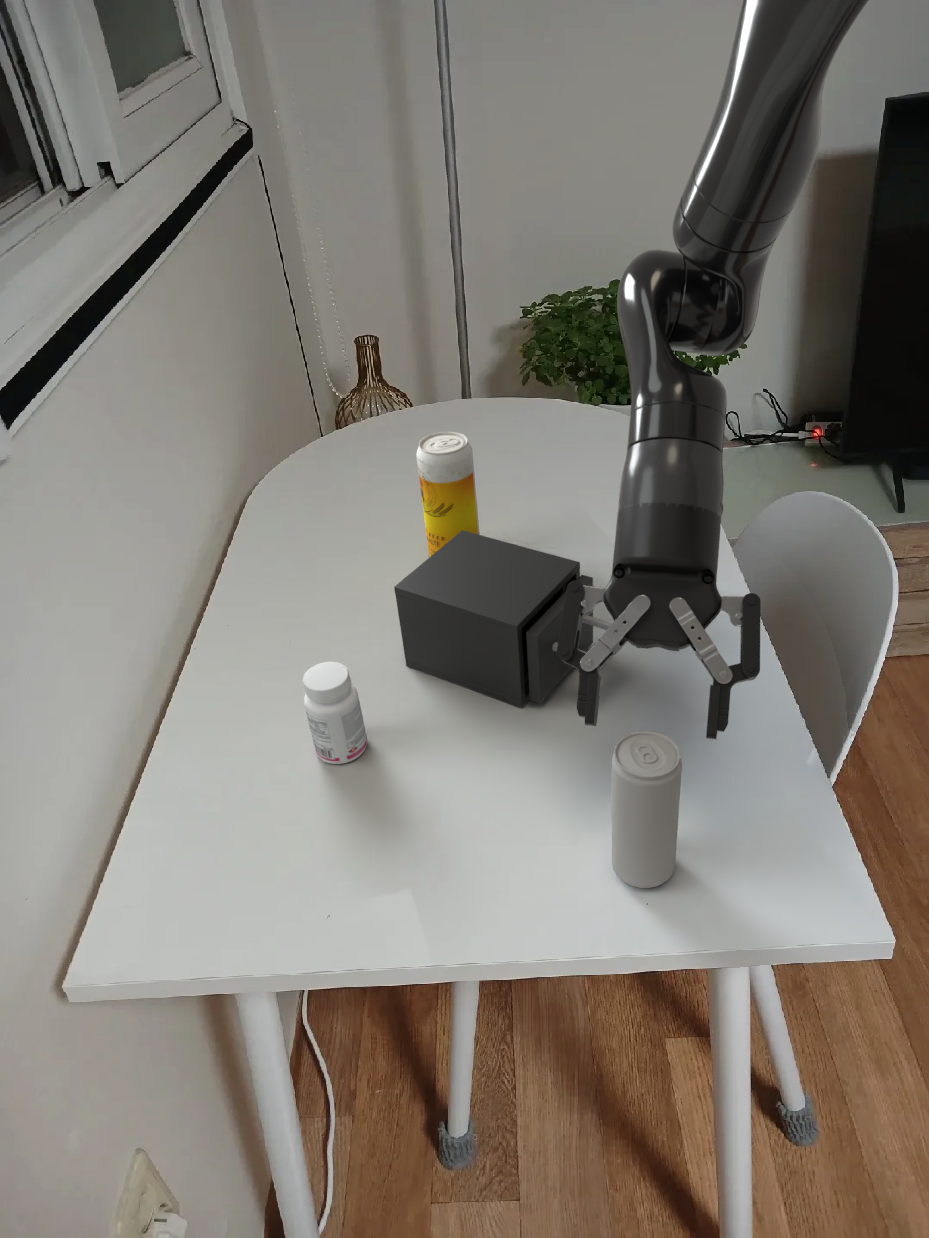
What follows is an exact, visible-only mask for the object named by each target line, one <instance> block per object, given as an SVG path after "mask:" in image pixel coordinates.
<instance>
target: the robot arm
mask: <svg viewBox="0 0 929 1238" xmlns="http://www.w3.org/2000/svg"><path fill="white" fill-rule="evenodd" d="M869 1H870V0H742V2H741V3H742V4H741V8H740V11H739V17H738V21H737V26H736V29H735V30H736V31H735V34H734V40H733V44H732V48H731V53H730V57H729V61H728V66H727V69H726V73H725V77H724V82H723V85H722V88H721V92H720V96H719V99H718V101H717V104H716V108H715V110H714V114H713V117H712V120H711V122H710V125H709V127H708V130H707V132H706V134H705V135H706V136H705V138H704V140H703V143H702V145H701V148H700V150H699V152H698V155H697V157H696V160H695V163H694V165H693V168H692V170H691V173H690V175H689V178H688V180H687V182H686V185H685V187H684V189H683V192H682V195H681V197H680V199H679V202H678V204H677V207H676V210H675V213H674V217H673V221H672V239H673V242H674V244H675V247H676V249H677V250H678V251H672V250H665V249H650V250H646V251H643V252H641V253H640V254H638V255H636V257H634V259H632V260H631V261H630V262H629V264H628V265H627V266H626V268H625V270H624V271H623V274H622V276H621V278H620V280H619V284H618V289H617V296H616V310H617V319H618V326H619V331H620V337H621V340H622V346H623V350H624V354H625V359H626V364H627V371H628V378H629V389H630V411H629V412H630V413H629V422H628V423H629V424H628V433H627V443H626V444H627V445H626V453H625V460H624V465H623V468H622V472H621V476H620V477H621V478H620V483H619V484H620V485H619V494H618V504H617V505H618V508H617V514H616V517H617V518H616V526H615V536H614V537H615V538H614V546H613V558H612V567H611V568H612V569H611V576H610V580H609V581H608V583H607V584H606V586H605V587H601V586H600V587H599V586H593V587H592V586H584V585H582V584H581V582H579V581H571V582H570V583H569V584H568V586H567V590H566V597H565V603H564V609H563V615H562V621H561V627H560V633H559V640H558V646H557V656H558V658H559V659H561V660H562V661H563V662H564V663H566V664H569V665H571V666H573V667H572V668H575V669H577V671H578V673H579V680H578V688H577V689H578V690H577V698H576V699H577V701H576V710H577V711H576V712H577V714H578V717H580V718H584V725H585V726H588V727H597V723H598V714H599V706H600V705H599V704H600V695H601V694H600V693H601V683H602V676H601V675H600V674H599V673H600V671H601V670H602V668H603V667H604V666H605V665H606V664H607V663H608V662H609V661H610V660H611V659H612V658H613V657H614V656H615V655H616V654H617V653H618V652H619V651H620V650H621V649H622V648H623V647H624V646H625V645H626V644H627V643H629V644H630V645H632V646H634V647H635V648H636V649H646V650H647V649H654V648H660V649H664V650H667V651H671V652H681V651H682V650H685V649H687V648H689V647H690V648H691V649H692V651H693V653H694V654H695V656H696V657H697V659H698V660H699V662H700V663H701V664H702V666H703V667H704V668H705V670H706V672H707V673H708V674H709V676H710V677H711V680H712V684H710V685H709V696H708V708H707V718H706V719H707V721H706V735H705V739H707V740H708V739H709V740H717V738H718V737H717V736H718V732H720V733H724V732H725V731H726V729H727V727H728V725H729V715H730V704H731V703H730V701H731V690H732V688H733V686H735V685H737V684H740V683H744V682H747V681H754V680H755V679H756V678H757V677H758V675H759V674H760V671H761V597H760V596H759V595H758V594H757V593H754V592H750V593H749V592H748V593H746V594H745V595H743V596H741V595H740V596H735V595H734V596H733V595H732V596H731V595H728V596H727V595H724V596H723V595H722V596H721V594H720V592H719V590H718V587H717V586H718V585H717V577H718V566H719V565H718V564H719V551H720V539H721V525H722V516H723V514H724V513H723V512H724V503H723V500H724V485H725V484H724V483H725V482H724V481H725V480H724V467H723V457H724V455H723V454H724V443H725V429H726V419H727V407H728V406H727V404H728V399H727V390H726V388H725V386H724V384H723V382H722V381H721V380H720V379H718V378H717V377H716V376H714V375H712V374H710V373H708V372H707V371H704V370H701V369H699V368H697V367H694V366H692V365H690V364H688V363H686V362H684V361H683V360H682V359H680V358H679V357H677V355H676V354H675V352H683V353H688V354H696V355H702V356H709V357H720V356H725V355H728V354H731V353H733V352H735V351H736V350H738V349H739V348H741V347H742V346H743V345H744V344H745V343H746V342H747V341H748V340H749V338H750V337H751V335H752V333H753V330H754V328H755V326H756V321H757V318H758V317H757V316H758V312H759V305H760V298H761V290H762V285H763V284H762V282H763V279H764V274H765V271H766V267H767V264H768V261H769V257H770V255H771V251H772V249H773V246H774V244H775V242H776V240H777V238H778V237H779V234H780V232H781V231H782V230H783V227H784V226H785V224H786V222H787V220H788V218H789V217H790V215H791V213H792V211H793V209H794V207H795V206H796V204H797V202H798V200H799V198H800V197H801V195H802V193H803V190H804V188H805V186H806V184H807V182H808V180H809V178H810V176H811V173H812V171H813V168H814V166H815V162H816V159H817V155H818V151H819V147H820V140H821V131H822V103H823V102H822V100H823V90H824V86H825V82H826V78H827V76H828V73H829V70H830V67H831V65H832V62H833V60H834V58H835V56H836V54H837V52H838V50H839V48H840V46H841V44H842V43H843V41H844V39H845V37H846V36H847V34H848V32H849V31H850V30H851V28H852V26H853V25H854V23H855V22H856V21H857V19H858V17H859V16H860V14H861V13H862V11H863V10H864V8H865V7H866V6H867V4H868V2H869ZM674 351H675V352H674ZM600 603H603V604H604V606H605V608H606V609H607V611H608V613H609V614H610V616H611V618H612V619H613V622H611V623H612V624H611V626H610V627H609V628H608V629H607V630H605V631H604V632H603V633H602V634H601V635H600V637H599V638H598V640H597V641H596V642H595V643H594V644H593V645H592V646H591V647H590V648H589V650H587V651H586V652H587V653H584V652H582V651H580V650H578V646H579V640H580V633H581V627H582V621H583V615H589V614H591V613H592V612H593V613H594V610H595V607H596V606H597V605H598V604H600ZM721 612H724V613H726V614H727V615H728V617H729V622H730V623H731V625H733V626H734V627H737V628H740V650H739V651H740V653H739V654H740V655H739V656H740V658H739V659H740V662H739V663H735V664H731V665H728V663H727V662H726V661H725V659H724V658H723V656H722V655H721V653H720V652H719V650H718V648H717V647H716V645H715V643H714V642H713V640H712V639H711V637H710V636H709V634H708V633H707V631H706V629H707V628H708V627H709V626H710V625H711V623H712V622H713V621H714V620H716V617H717V616H718V615H719V614H720V613H721Z"/></svg>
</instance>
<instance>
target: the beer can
mask: <svg viewBox="0 0 929 1238" xmlns="http://www.w3.org/2000/svg"><path fill="white" fill-rule="evenodd" d="M473 453H474V451H473V447H472V445H471V443H470V442H469V439H468V437H467V436H466V435H465V434H463V433H461V432H456V431H440V432H434V433H430V434H428V435H426V436H424V437H423V438H421V439H420V440H419V442H418V448H417V451H416V453H415V456H416V464H417V471H418V479H419V488H420V495H421V504H422V512H423V521H424V528H425V537H426V545H427V552H428V558H429V557H431V556H432V555H433V554H434V553H435V552H437V551H438V550H439V549H440V548H441V547H443V546H444V545H445V544H446V543H447V542H449V541H450V540H451V539H452V538H453V537H455V536H456V535H457V534H458V533H459V532H461V531H462V530H463V531H467V532H471V533H474V534H478V535H481V533H480V523H479V521H480V520H479V511H478V510H479V509H478V500H477V487H476V477H475V476H476V475H475V466H474V465H475V464H474V454H473Z"/></svg>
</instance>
